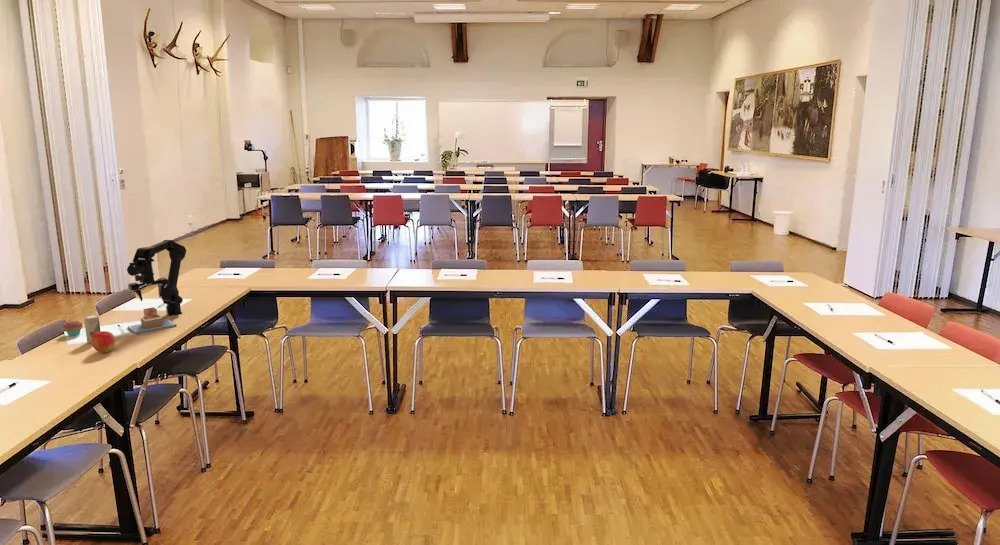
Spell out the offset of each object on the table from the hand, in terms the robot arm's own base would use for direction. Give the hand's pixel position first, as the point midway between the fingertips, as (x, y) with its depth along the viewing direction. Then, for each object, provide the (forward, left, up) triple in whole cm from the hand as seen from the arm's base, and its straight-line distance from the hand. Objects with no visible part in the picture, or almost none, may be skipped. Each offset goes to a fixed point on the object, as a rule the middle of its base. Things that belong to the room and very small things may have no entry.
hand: (150, 299), depth 356 cm
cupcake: (+37, -4, -13) cm, 39 cm away
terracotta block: (+4, +10, -8) cm, 13 cm away
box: (+32, +16, -13) cm, 38 cm away
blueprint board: (+4, +10, -13) cm, 17 cm away
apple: (+32, +36, -13) cm, 50 cm away
